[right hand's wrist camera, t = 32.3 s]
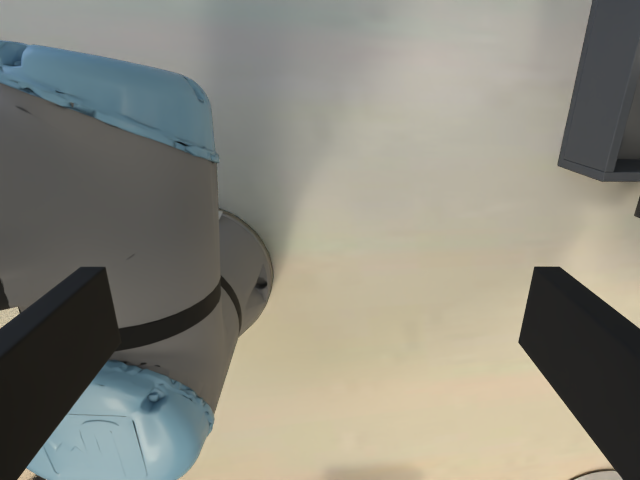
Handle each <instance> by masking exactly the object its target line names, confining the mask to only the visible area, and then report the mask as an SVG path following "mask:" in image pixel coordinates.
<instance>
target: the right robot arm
mask: <svg viewBox="0 0 640 480" xmlns="http://www.w3.org/2000/svg"><path fill="white" fill-rule="evenodd" d="M217 163H219V156H218V154H217V153H216V152H215V144H214V133H213V122H212V112H211V105H210V102H209V99H208V97H207V95H206V93H205V92H204V90H203V89H202V88H201V87H200V86H199V85H198V84H197V83H196V82H194V81H193V80H191V79H190V78H188V77H186V76H183V75H180V74H177V73H174V72H170V71H166V70H162V69H158V68H154V67H149V66H145V65H140V64H136V63H131V62H126V61H121V60H116V59H111V58H106V57H101V56H96V55H91V54H85V53H80V52H75V51H69V50H64V49H58V48H52V47H46V46H39V45H27V44H24V43H18V42H11V41H3V40H0V310H4V309H9V308H14V307H18V308H19V312H20V314H19V315H17V316H16V317H15V318H14V319H12V320H11V321H10V322H8V323H7V324H6V325H5V326H3V327H2V328H1V329H0V480H17V479H18V478H19V477H20V475H21V474H22V473H23V471H24V470H25V469H26V468H27V469H28V470H30V471H32V472H33V473H35V474H36V475H38V477H37V478H36V479H35V480H46V479H47V480H177V479H178V478H180V477H182V476H183V475H184V474H185V473H186V472H187V471H188V470H189V469H190V468H191V467H192V466H193V464H194V463H195V461H196V460H197V458H198V456H199V454H200V451H201V449H202V446H203V444H204V441H205V439H206V437H207V436H208V435H209V433H210V432H211V431H212V427H213V424H214V413H215V410H216V407H217V404H218V400H219V397H220V394H221V391H222V388H223V384H224V381H225V378H226V375H227V372H228V369H229V365H230V362H231V359H232V356H233V353H234V349H235V346H236V343H237V340H238V337H240V336H241V335H242V334H243V333H244V332H245V331H246V330H247V329H248V328H249V327H250V326H251V325H252V324H253V323H254V322H255V321H256V320H257V319H258V317H259V316H260V315H261V313H262V311H263V310H264V308H265V306H266V304H267V301H268V299H269V296H270V291H271V287H272V281H273V270H272V264H271V259H270V256H269V253H268V251H267V249H266V247H265V245H264V243H263V242H262V240H261V239H260V237H259V236H258V235H257V234H256V232H255V231H254V230H253V229H252V228H251V227H250V226H249V225H247V224H246V223H245V222H244V221H242V220H241V219H239V218H238V217H236V216H234V215H233V214H231V213H229V212H226V211H224V210H221V209H218V184H217ZM519 344H520V345H521V346H522V348H523V349H524V350H525V352H526V353H527V354H528V356H529V357H530V358H531V360H532V361H533V362H534V364H535V365H536V366H537V367H538V369H539V370H540V371H541V373H542V374H543V375H544V377H545V378H546V379H547V381H548V382H549V383H550V385H551V386H552V387H553V389H554V390H555V391H556V392H557V394H558V395H559V396H560V398H561V399H562V400H563V402H564V403H565V404H566V406H567V407H568V408H569V410H570V411H571V412H572V413H573V415H574V416H575V417H576V419H577V420H578V421H579V423H580V424H581V425H582V427H583V428H584V429H585V431H586V432H587V433H588V435H589V436H590V437H591V438H592V440H593V441H594V442H595V444H596V445H597V446H598V448H599V449H600V450H601V452H602V453H603V454H604V456H605V457H606V458H607V460H608V461H609V462H610V463H611V465H612V466H613V467H614V469H615V470H616V471H617V473H618V474H619V475H620V477H621V478H622V479H623V480H640V329H639V328H638V327H637V326H635V325H634V324H633V323H632V322H630V321H629V320H628V319H626V318H625V317H624V316H623V315H621V314H620V313H619V312H617V311H616V310H615V309H613V308H612V307H611V306H610V305H608V304H607V303H606V302H604V301H603V300H602V299H601V298H599V297H598V296H597V295H595V294H594V293H593V292H592V291H590V290H589V289H588V288H586V287H585V286H584V285H582V284H581V283H580V282H579V281H577V280H576V279H575V278H573V277H572V276H571V275H570V274H568V273H567V272H566V271H564V270H563V269H562V268H560V267H534V271H533V276H532V281H531V285H530V290H529V295H528V299H527V304H526V309H525V314H524V318H523V323H522V328H521V332H520V337H519Z"/></svg>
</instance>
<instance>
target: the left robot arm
mask: <svg viewBox="0 0 640 480" xmlns="http://www.w3.org/2000/svg"><path fill="white" fill-rule="evenodd" d="M574 480H623V479H622V478H621V477H620V475H619V474H618V473H617V471H601V472H595V473H591V474H587V475H584V476H581V477H579V478H577V479H574Z"/></svg>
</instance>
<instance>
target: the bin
mask: <svg viewBox="0 0 640 480" xmlns="http://www.w3.org/2000/svg"><path fill="white" fill-rule="evenodd" d="M558 166H560V167H563V168H565V169H568V170H571V171H574V172H577V173H579V174H582V175H585V176H588V177H591V178H594V179H596V180H599V181H602V182H640V0H593V2H592V7H591V11H590V16H589V21H588V25H587V30H586V35H585V39H584V44H583V49H582V54H581V58H580V63H579V68H578V72H577V77H576V82H575V86H574V91H573V96H572V100H571V105H570V110H569V114H568V119H567V124H566V128H565V133H564V138H563V142H562V147H561V152H560V156H559V161H558ZM634 216H636V217H638V218H640V197H639V201H638V204H637V207H636V211H635V214H634Z"/></svg>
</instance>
